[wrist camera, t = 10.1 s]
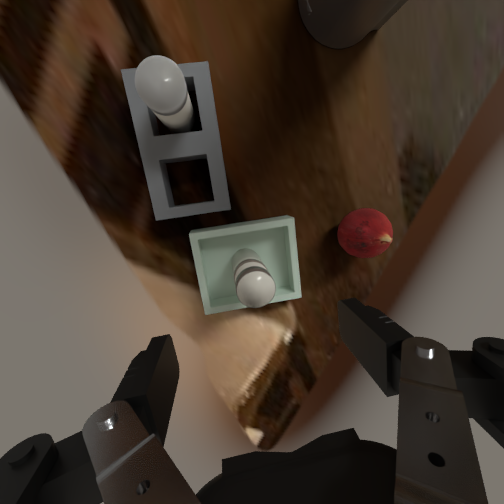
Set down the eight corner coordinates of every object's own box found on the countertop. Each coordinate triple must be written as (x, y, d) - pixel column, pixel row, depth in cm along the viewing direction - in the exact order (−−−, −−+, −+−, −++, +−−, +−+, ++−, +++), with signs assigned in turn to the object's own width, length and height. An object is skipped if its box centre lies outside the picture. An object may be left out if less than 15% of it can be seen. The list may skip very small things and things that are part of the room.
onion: (334, 256, 34) (367, 275, 26) (321, 216, 33) (353, 224, 25) (373, 240, 34) (418, 254, 27) (363, 199, 33) (407, 202, 25)
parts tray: (287, 215, 32) (293, 217, 29) (294, 288, 34) (301, 297, 32) (191, 229, 31) (188, 233, 28) (206, 304, 33) (205, 315, 31)
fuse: (192, 96, 28) (180, 53, 19) (198, 133, 29) (189, 107, 20) (157, 100, 27) (129, 58, 19) (165, 137, 28) (141, 113, 20)
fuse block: (209, 77, 27) (207, 61, 24) (229, 207, 31) (231, 209, 28) (133, 84, 27) (120, 69, 23) (162, 217, 30) (155, 220, 27)
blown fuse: (258, 245, 32) (273, 267, 23) (262, 273, 33) (278, 304, 24) (228, 250, 31) (233, 274, 23) (233, 278, 32) (239, 311, 24)
